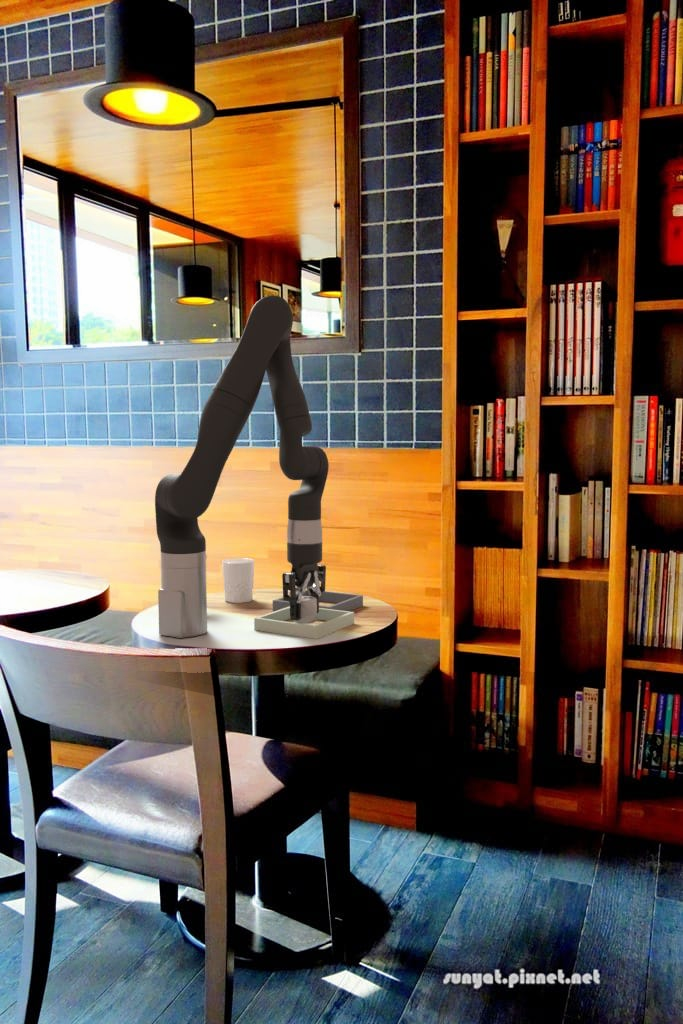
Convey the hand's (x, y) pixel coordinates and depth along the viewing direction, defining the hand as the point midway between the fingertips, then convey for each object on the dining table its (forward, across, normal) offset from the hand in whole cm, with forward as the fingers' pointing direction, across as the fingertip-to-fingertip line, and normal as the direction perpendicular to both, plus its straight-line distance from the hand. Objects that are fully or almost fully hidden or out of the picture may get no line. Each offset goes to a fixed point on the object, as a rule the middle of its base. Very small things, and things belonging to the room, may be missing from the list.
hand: (304, 616), depth 177 cm
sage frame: (+2, 0, 0) cm, 2 cm away
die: (+1, 0, 0) cm, 1 cm away
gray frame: (+2, +17, +7) cm, 19 cm away
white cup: (+2, +15, +29) cm, 33 cm away
